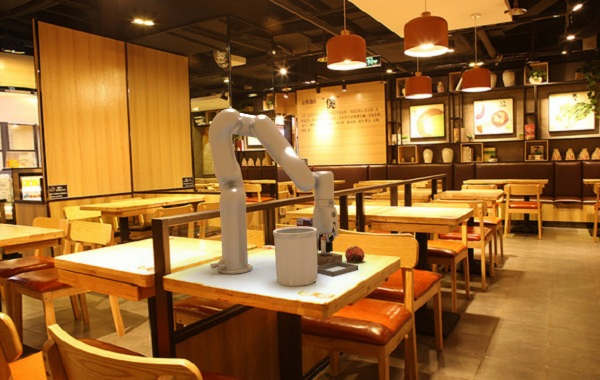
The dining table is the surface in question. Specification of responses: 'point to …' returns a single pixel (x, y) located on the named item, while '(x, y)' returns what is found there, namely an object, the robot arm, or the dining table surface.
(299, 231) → the utensil holder
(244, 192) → the robot arm
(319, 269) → the tray
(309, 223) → the supplement box
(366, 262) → the dining table surface
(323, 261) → the pin block
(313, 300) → the dining table surface
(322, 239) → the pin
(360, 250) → the pomegranate
